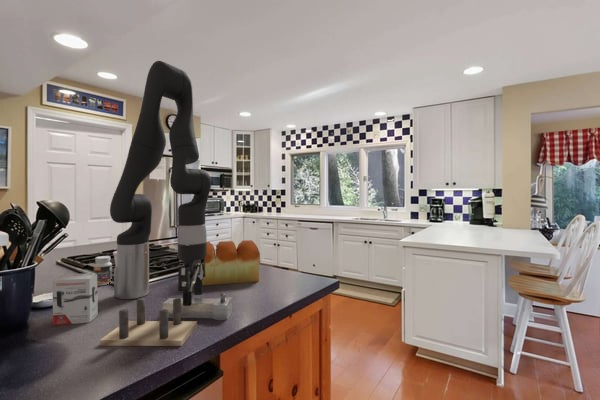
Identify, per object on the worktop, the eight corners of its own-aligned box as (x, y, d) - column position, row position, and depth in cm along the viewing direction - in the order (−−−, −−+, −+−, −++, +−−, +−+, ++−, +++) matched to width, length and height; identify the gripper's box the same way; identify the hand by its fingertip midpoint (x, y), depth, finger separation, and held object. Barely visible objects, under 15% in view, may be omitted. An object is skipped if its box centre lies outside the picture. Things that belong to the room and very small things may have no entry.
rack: (99, 345, 66) (99, 313, 66) (126, 325, 76) (126, 297, 76) (181, 345, 66) (181, 313, 66) (197, 326, 76) (197, 297, 76)
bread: (256, 273, 127) (256, 238, 127) (260, 281, 115) (260, 243, 115) (193, 277, 121) (193, 240, 120) (191, 286, 109) (191, 246, 108)
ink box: (51, 326, 76) (51, 279, 76) (62, 318, 81) (62, 274, 80) (90, 322, 78) (89, 277, 78) (98, 315, 83) (97, 272, 82)
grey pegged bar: (161, 319, 80) (160, 297, 80) (170, 310, 86) (170, 290, 86) (227, 320, 80) (226, 297, 80) (232, 311, 86) (232, 290, 86)
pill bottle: (92, 287, 107) (92, 259, 107) (94, 282, 112) (94, 256, 112) (111, 284, 110) (111, 257, 110) (112, 280, 115) (112, 255, 115)
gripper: (188, 237, 90) (189, 291, 90) (167, 245, 76) (168, 309, 76) (213, 237, 90) (214, 291, 90) (197, 245, 76) (198, 309, 76)
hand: (193, 299), depth 83 cm, fingers open, 8 cm apart
